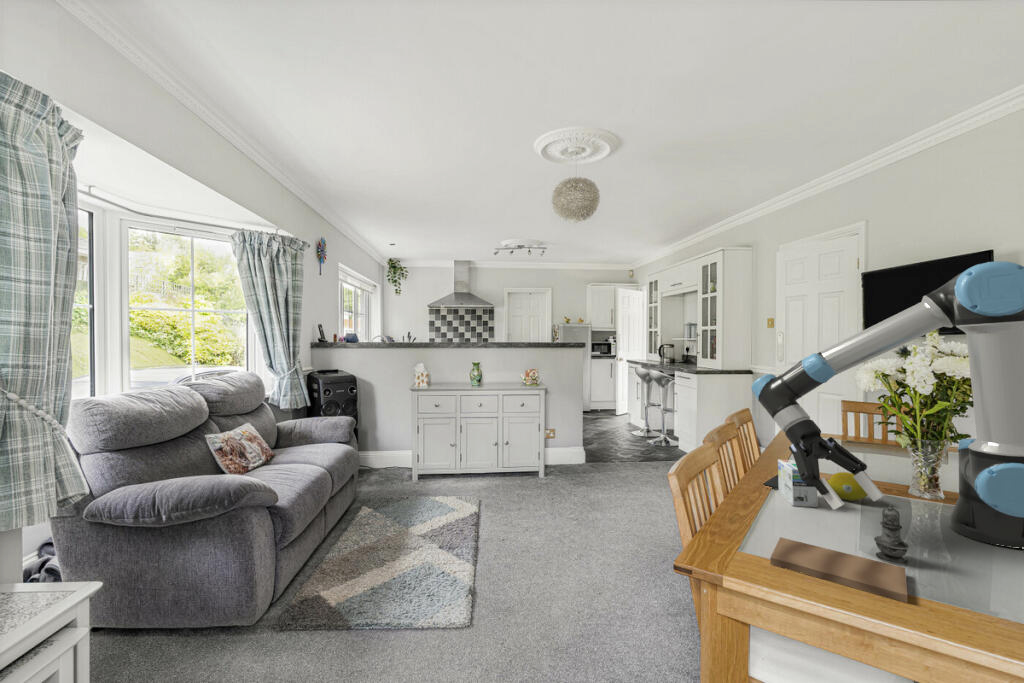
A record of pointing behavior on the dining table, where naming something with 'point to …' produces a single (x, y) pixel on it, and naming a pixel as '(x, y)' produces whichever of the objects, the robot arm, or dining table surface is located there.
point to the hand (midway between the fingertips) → (859, 503)
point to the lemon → (846, 486)
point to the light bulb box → (795, 485)
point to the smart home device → (773, 483)
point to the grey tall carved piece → (891, 538)
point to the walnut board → (842, 568)
